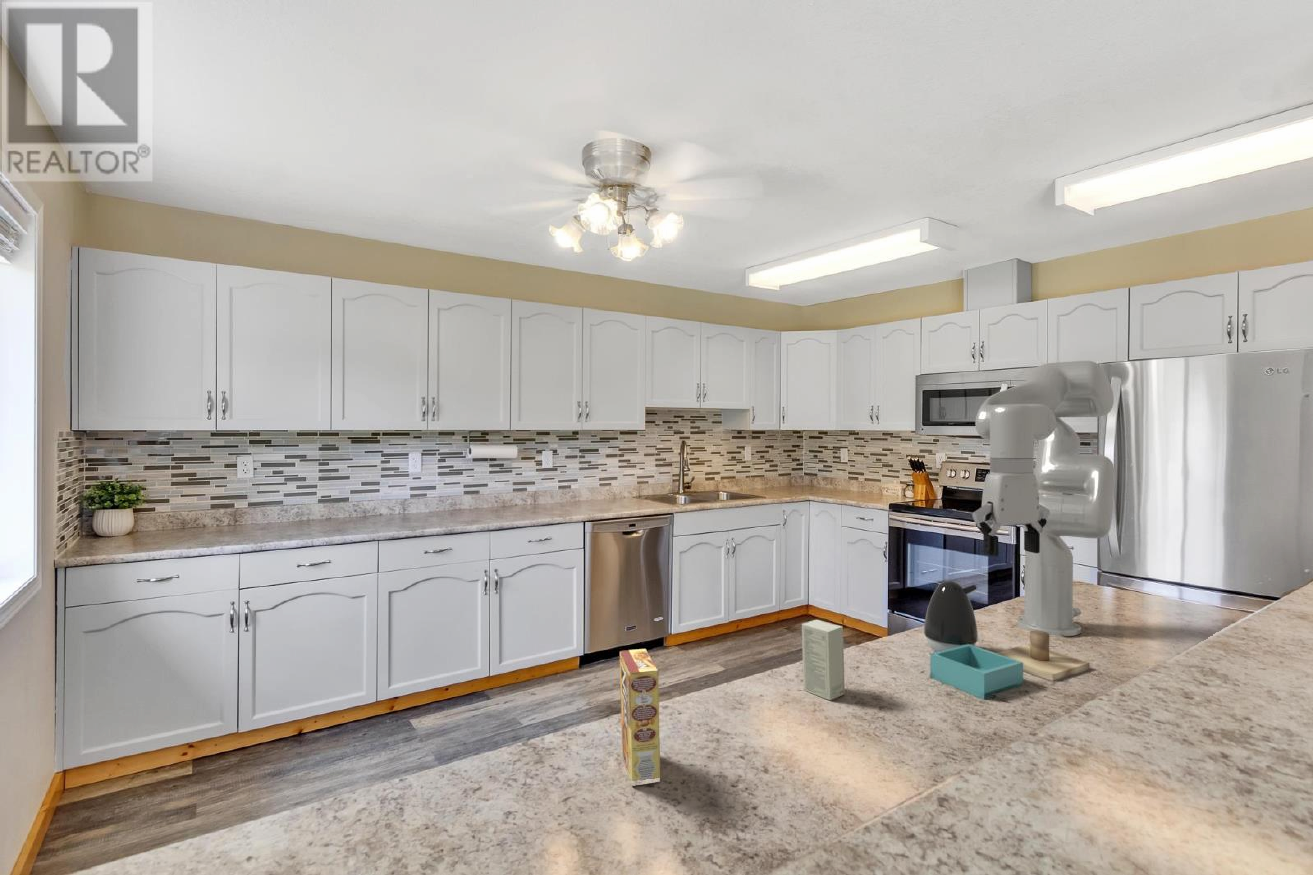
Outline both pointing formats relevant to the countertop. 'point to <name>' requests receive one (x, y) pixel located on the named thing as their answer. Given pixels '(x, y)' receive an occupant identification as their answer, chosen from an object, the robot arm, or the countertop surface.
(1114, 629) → the countertop surface
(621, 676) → the candy box
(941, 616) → the pump dispenser
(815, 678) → the skincare box
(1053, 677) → the lid
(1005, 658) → the dish
